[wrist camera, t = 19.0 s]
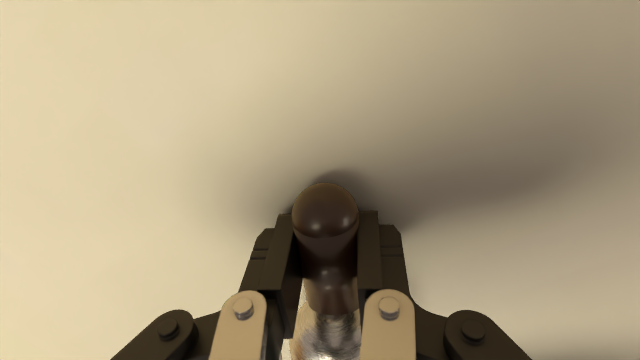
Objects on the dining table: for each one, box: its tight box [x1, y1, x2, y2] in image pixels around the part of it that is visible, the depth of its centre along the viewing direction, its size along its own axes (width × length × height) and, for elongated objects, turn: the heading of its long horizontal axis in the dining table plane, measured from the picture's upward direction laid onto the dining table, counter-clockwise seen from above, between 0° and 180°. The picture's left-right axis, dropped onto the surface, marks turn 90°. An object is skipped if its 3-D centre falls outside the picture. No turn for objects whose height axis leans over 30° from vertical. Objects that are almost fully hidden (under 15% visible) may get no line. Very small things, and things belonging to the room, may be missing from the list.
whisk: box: [289, 183, 361, 360], centre depth 13 cm, size 10×4×4 cm, turn 6°
